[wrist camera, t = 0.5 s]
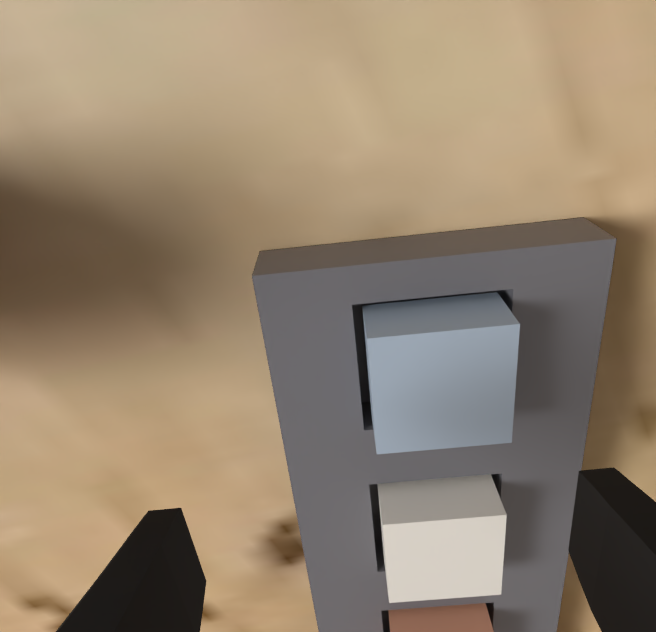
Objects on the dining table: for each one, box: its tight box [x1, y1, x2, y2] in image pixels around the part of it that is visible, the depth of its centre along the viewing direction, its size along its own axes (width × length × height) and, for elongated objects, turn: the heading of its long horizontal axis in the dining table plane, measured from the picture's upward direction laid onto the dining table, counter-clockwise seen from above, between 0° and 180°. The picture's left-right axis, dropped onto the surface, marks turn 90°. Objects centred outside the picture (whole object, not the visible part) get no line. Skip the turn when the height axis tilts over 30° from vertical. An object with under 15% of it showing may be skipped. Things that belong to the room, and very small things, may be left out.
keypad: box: [252, 217, 616, 632], centre depth 20 cm, size 21×10×2 cm, turn 6°
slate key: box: [362, 292, 520, 454], centre depth 15 cm, size 4×4×2 cm
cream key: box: [377, 474, 507, 603], centre depth 19 cm, size 4×4×2 cm
